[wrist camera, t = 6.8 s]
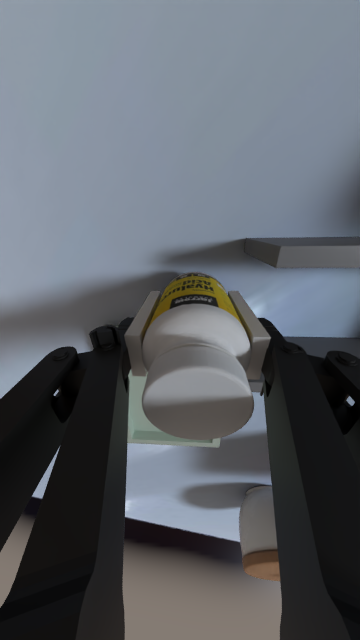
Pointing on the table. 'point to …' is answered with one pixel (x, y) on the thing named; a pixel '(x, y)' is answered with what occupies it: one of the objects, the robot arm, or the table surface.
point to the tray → (144, 429)
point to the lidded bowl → (259, 534)
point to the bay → (309, 256)
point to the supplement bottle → (196, 362)
